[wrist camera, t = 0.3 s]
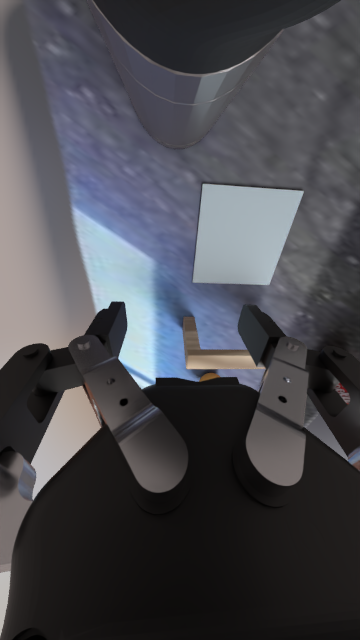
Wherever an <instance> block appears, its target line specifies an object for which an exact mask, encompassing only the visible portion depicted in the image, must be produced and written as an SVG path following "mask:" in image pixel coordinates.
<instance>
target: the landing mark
mask: <svg viewBox="0 0 360 640" xmlns="http://www.w3.org/2000/svg"><path fill="white" fill-rule="evenodd" d="M303 192H304V191H297V190H283V189H269V188H255V187H241V186H227V185H213V184H203V186H202V196H201V206H200V215H199V225H198V234H197V244H196V254H195V263H194V273H193V283H224V284H255V285H269V284H270V281H271V279H272V276H273V273H274V270H275V268H276V265H277V262H278V260H279V257H280V254H281V252H282V249H283V246H284V244H285V241H286V238H287V235H288V233H289V230H290V227H291V225H292V222H293V219H294V217H295V214H296V211H297V209H298V206H299V203H300V200H301V198H302V195H303Z"/></svg>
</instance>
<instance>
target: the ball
mask: <svg viewBox="0 0 360 640" xmlns="http://www.w3.org/2000/svg"><path fill="white" fill-rule="evenodd" d="M217 377H220V376H219V375H217V374H215V373H207V374H205V375H203V376H202V377H201V379H200V381H204V380H209V379H213V378H217ZM200 381H199V382H200Z"/></svg>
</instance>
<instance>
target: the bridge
mask: <svg viewBox="0 0 360 640" xmlns="http://www.w3.org/2000/svg"><path fill="white" fill-rule="evenodd" d="M183 339H184V350H185V360H186V369H266V368H265V367H256V365H255V363H254V361H253V359H252V357H251V355H250V353H249V351H248V350H201V349H200V344H199V339H198V334H197V329H196V324H195V318H194V317H184V318H183Z"/></svg>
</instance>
